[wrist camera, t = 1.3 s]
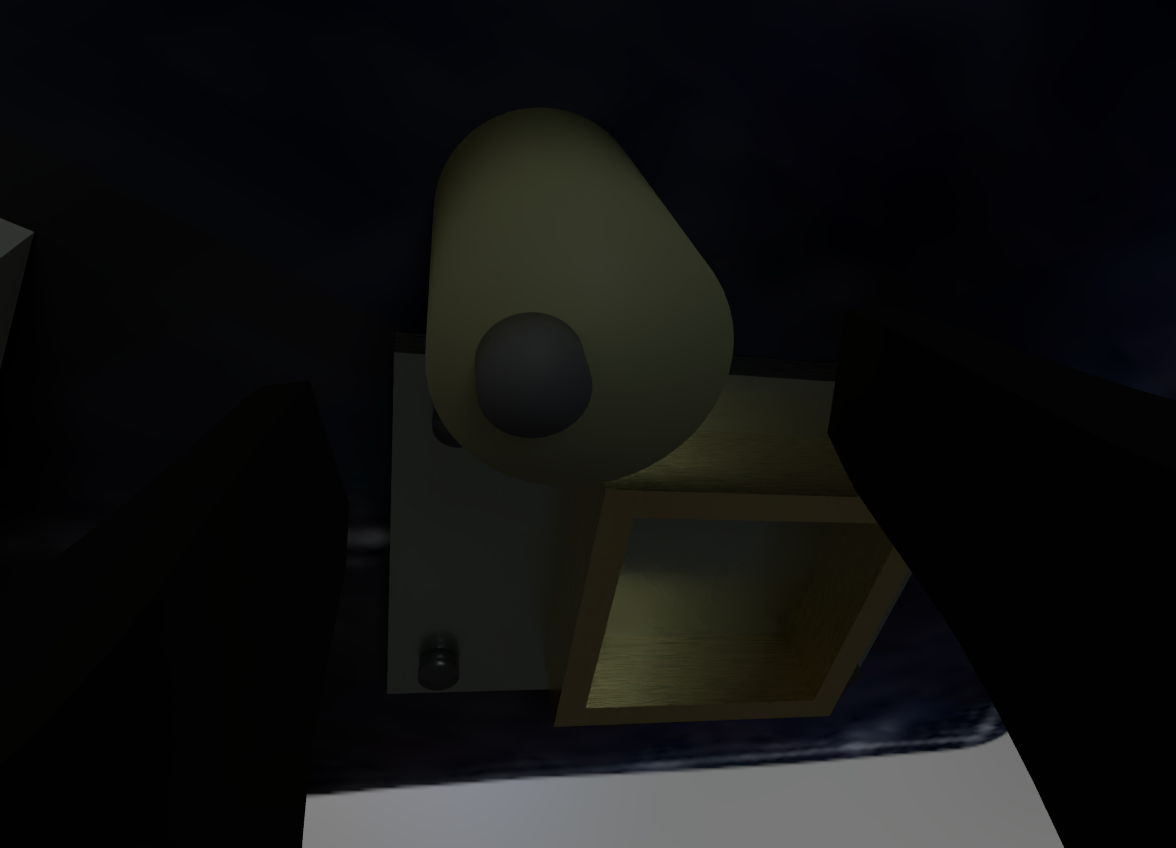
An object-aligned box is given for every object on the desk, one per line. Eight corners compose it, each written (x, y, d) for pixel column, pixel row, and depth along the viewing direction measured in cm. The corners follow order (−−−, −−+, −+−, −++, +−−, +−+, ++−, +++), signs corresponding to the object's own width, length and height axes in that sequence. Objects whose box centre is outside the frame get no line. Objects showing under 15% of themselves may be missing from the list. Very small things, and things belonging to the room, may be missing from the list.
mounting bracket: (988, 374, 21) (1074, 448, 18) (841, 657, 27) (886, 744, 24) (396, 331, 17) (386, 414, 14) (389, 667, 24) (380, 769, 21)
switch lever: (662, 123, 16) (793, 253, 10) (622, 321, 18) (706, 521, 12) (438, 92, 15) (431, 215, 9) (428, 305, 17) (417, 515, 11)
